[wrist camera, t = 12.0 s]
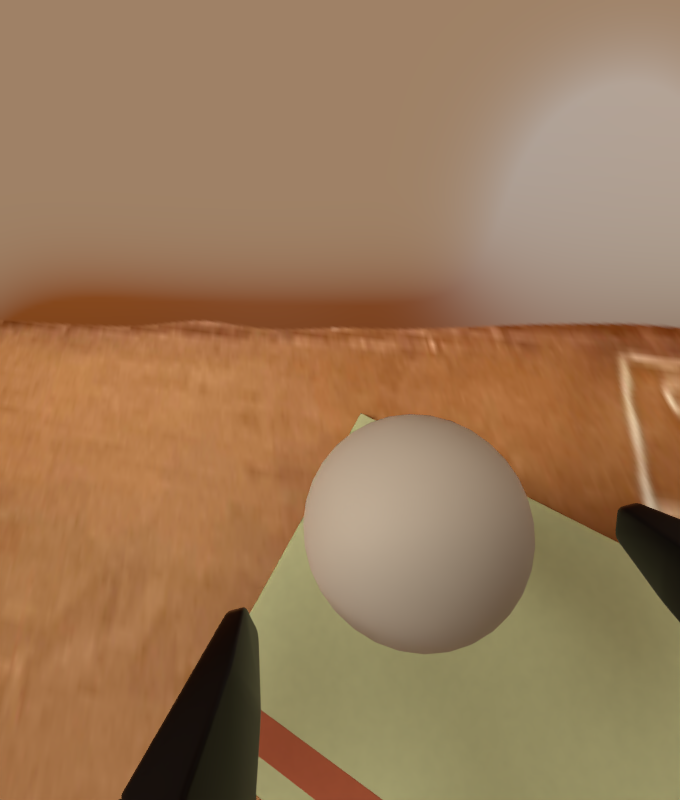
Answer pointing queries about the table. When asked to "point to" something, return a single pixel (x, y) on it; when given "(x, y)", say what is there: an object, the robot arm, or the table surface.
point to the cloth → (477, 689)
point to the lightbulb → (419, 534)
